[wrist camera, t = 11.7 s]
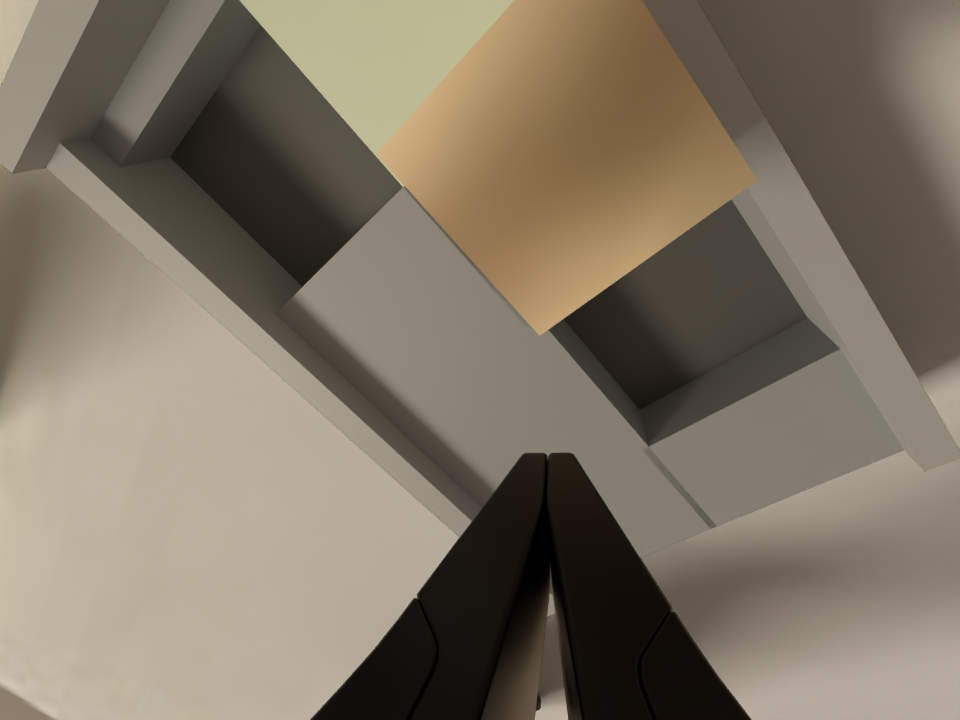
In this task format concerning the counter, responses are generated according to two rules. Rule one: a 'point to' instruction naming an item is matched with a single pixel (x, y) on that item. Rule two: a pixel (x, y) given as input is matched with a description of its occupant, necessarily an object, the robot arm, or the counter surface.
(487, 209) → the block
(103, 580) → the counter surface
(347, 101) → the trap board
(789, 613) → the counter surface
